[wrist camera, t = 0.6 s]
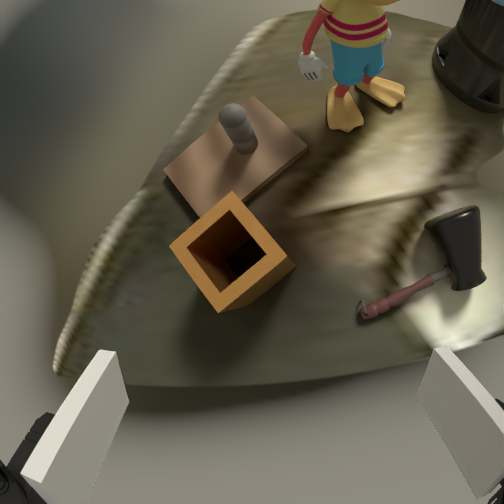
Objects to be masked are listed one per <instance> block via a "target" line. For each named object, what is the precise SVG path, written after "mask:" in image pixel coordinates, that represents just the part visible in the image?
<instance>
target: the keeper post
mask: <svg viewBox="0 0 504 504" xmlns="http://www.w3.org/2000/svg"><path fill="white" fill-rule="evenodd" d="M307 151H308V145H307V144H306V143H305V142H304V141H303V140H301V139H300V138H299V137H298V136H297V135H296V134H295V133H294V132H293V131H292V130H291V129H290V128H289V127H288V126H287V125H286V124H284V123H283V122H282V121H281V120H280V119H279V118H278V117H277V116H276V115H274V114H273V113H272V112H271V111H270V110H269V109H268V108H267V107H265V106H264V105H263V104H262V103H261V102H260V101H259V100H257V99H256V98H255V97H254V96H252V97H250V98H249V99H248V100H246V101H245V102H244V103H242V104H241V105H238V104H234V103H232V104H227V105H225V106H224V107H223V108H222V109H221V110H220V113H219V122H218V123H217V124H215V125H214V126H213V127H212V128H211V129H209V130H208V131H207V132H206V133H204V134H203V135H202V136H201V137H200V138H198V139H197V140H196V141H195V142H194V143H193V144H191V145H190V146H189V147H188V148H187V149H186V150H184V151H183V152H182V153H181V154H180V155H179V156H178V157H176V158H175V159H174V160H173V161H172V162H171V163H170V164H169V165H168V166H166V167H165V168H164V169H163V170H164V171H165V173H166V174H167V175H168V177H169V178H170V179H171V181H172V182H173V183H174V185H175V186H176V187H177V189H178V190H179V191H180V192H181V194H182V195H183V196H184V198H185V199H186V200H187V202H188V203H189V204H190V205H191V207H192V208H193V209H194V211H195V212H196V213H197V215H198V216H199V217H200V218H201V217H202V216H203V215H204V214H205V213H207V212H208V211H209V210H210V209H211V208H212V207H213V206H215V205H216V204H217V203H218V202H219V201H220V200H222V199H223V198H224V197H225V196H226V195H227V194H229V193H230V192H231V191H233V192H234V193H235V194H236V196H237V197H238V198H239V199H240V200H241V201H242V203H243V204H244V203H245V202H246V201H248V200H249V199H250V198H251V197H252V196H253V195H255V194H256V193H257V192H258V191H259V190H261V189H262V188H263V187H264V186H265V185H267V184H268V183H269V182H270V181H271V180H273V179H274V178H275V177H276V176H278V175H279V174H280V173H281V172H282V171H284V170H285V169H286V168H287V167H289V166H290V165H291V164H292V163H293V162H295V161H296V160H297V159H298V158H300V157H301V156H302V155H303V154H305V153H306V152H307Z"/></svg>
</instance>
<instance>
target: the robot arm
mask: <svg viewBox="0 0 504 504" xmlns="http://www.w3.org/2000/svg"><path fill="white" fill-rule="evenodd" d="M433 64H434V67H435V70H436V72H437V74H438V76H439V77H440V79H441V80H442V82H443V83H444V84H445V85H446V86H447V87H448V89H449V90H450V91H451V92H452V93H454V94H455V95H456V96H457V97H458V98H459V99H461V100H462V101H464V102H465V103H467V104H468V105H470V106H472V107H474V108H476V109H478V110H481V111H484V112H491V113H494V112H499V111H501V110H503V109H504V0H466V1H465V4H464V7H463V9H462V12H461V14H460V16H459V19H458V22H457V24H456V26H455V27H454V28H452V29H451V30H450V31H449V32H448V33H447V34H446V35H444V36H443V37H442V38H441V39H440V40H439V41H438V43H437V44H436V47H435V49H434V52H433ZM416 396H417V398H418V399H419V401H420V403H421V404H422V406H423V407H424V409H425V411H426V412H427V414H428V416H429V417H430V419H431V420H432V422H433V424H434V425H435V427H436V429H437V430H438V432H439V434H440V435H441V437H442V439H443V440H444V442H445V444H446V445H447V447H448V449H449V450H450V452H451V454H452V456H453V457H454V459H455V461H456V462H457V464H458V466H459V468H460V470H461V472H462V473H463V475H464V477H465V479H466V480H467V482H468V484H469V486H470V488H471V490H472V492H473V493H474V495H475V497H476V499H479V498H481V497H483V496H485V495H487V494H488V493H490V492H491V491H492V490H493V489H494V488H495V487H496V486H497V485H498V484H499V483H500V484H501V486H502V487H501V488H500V489H499V490H498V491H497V493H496V494H495V495H494V496H493V497H492V498H491V499H490V500H489V502H488V504H490V503H491V502H492V501H494V500H495V499H496V498H497V500H496V501H495V502H494V503H493V504H504V403H503V402H501V401H500V400H498V399H494V398H493V397H492V396H491V395H490V394H489V393H488V391H487V390H486V389H485V388H484V387H483V386H482V384H480V382H479V381H478V380H477V379H476V378H475V377H474V375H473V374H472V373H471V372H470V371H469V370H468V369H467V368H466V367H465V366H464V364H463V363H462V362H461V361H460V360H459V359H458V358H457V357H456V356H455V355H454V353H453V352H452V351H451V350H450V349H449V348H448V347H447V346H445V347H439V348H434V349H433V352H432V355H431V358H430V361H429V364H428V367H427V369H426V372H425V375H424V378H423V380H422V383H421V385H420V388H419V390H418V393H417V395H416ZM128 403H129V400H128V397H127V393H126V390H125V386H124V382H123V379H122V375H121V371H120V367H119V363H118V359H117V354H116V352H113V351H105V350H99V351H98V352H97V354H96V355H95V357H94V358H93V359H92V361H91V362H90V364H89V365H88V367H87V368H86V370H85V371H84V372H83V374H82V375H81V377H80V378H79V380H78V381H77V383H76V384H75V386H74V387H73V389H72V390H71V392H70V393H69V395H68V396H67V398H66V399H65V401H64V402H63V404H62V405H61V407H60V408H59V410H58V412H57V413H56V415H55V414H51V413H48V412H46V413H45V414H44V415H42V416H41V417H40V418H38V419H37V420H36V421H35V423H34V425H33V426H32V427H31V429H30V432H28V433H27V435H26V436H25V440H23V441H22V443H21V444H20V446H19V448H18V449H17V451H16V452H15V454H14V455H13V457H12V458H11V460H10V462H9V463H8V465H7V466H5V465H4V464H3V463H2V461H1V460H0V504H88V501H89V498H90V496H91V493H92V490H93V488H94V485H95V483H96V480H97V477H98V475H99V472H100V470H101V467H102V465H103V462H104V460H105V457H106V455H107V452H108V450H109V448H110V445H111V443H112V440H113V438H114V435H115V433H116V431H117V428H118V426H119V424H120V421H121V419H122V417H123V414H124V412H125V410H126V408H127V405H128Z"/></svg>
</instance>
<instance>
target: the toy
mask: <svg viewBox="0 0 504 504" xmlns="http://www.w3.org/2000/svg"><path fill="white" fill-rule="evenodd" d="M396 1H399V0H322V2H321V4H320V5H319V7H318V10H319V11H318V13H317V14H316V16H315V17H314V19H313V20H312V22H311V24H310V26H309V28H308V30H307V32H306V34H305V38H304V42H303V52H302V53H301V54H300V60H299V69H300V72H301V74H302V75H303V76H304V77H305V78H306V79H307V80H308V81H310V82H313V83H318V82H320V81H321V80H322V79H323V73H322V68H329V65H328V64H327V63H326V62H325V61H324V60H323V59H321V58H317V57H315V54H314V52H312V51H311V46H312V43H313V40H314V37H315V35H316V34H317V32H318V30H319V28H320V26H321V25H322V23H323V22H324V25H325V32H326V34H327V36H328V37H329V38H330V40H331V46H332V53H333V60H334V68H335V69H334V71H333V76H334V78H335V80H336V81H337V82H338V85H337V86H335V87H333V88H331V89H330V90H329V91H328V97H327V120H328V126H329V128H330V129H333V130H334V129H340V130H342V131H345V132H347V133H348V132H350V131H351V130H352V129H353V128H355V127H357V126H361V125H363V124H364V120H363V116H362V114H361V112H360V111H359V109H358V107H357V105H356V104H355V102H354V100H353V99H352V97H351V95H350V94H349V92H348V90H349V87H350V85H356V86H357V87H358V88H359V89H361V90H362V91H364V92H365V93H367V94H368V95H370V96H371V97H373V98H375V99H376V100H378V101H379V102H381V103H383V104H385V105H386V106H388V107H395V105H396V104H397V103H400V102H402V101H404V100H405V97H406V96H405V95H404V93H403V92H404V90H405V88H404V86H403V85H401V84H399V83H396V82H393V81H390V80H386V79H383V78H379V77H375V76H376V75H377V74H379V73H380V72H381V71H382V70H383V68H384V64H385V62H384V59H383V57H382V51H385V50H387V49H388V47H389V46H390V43H391V40H392V34H391V31H390V29H389V28H388V27H389V26H388V22H387V18H386V14H385V11H384V7H383V6H384V5H389V4H392V3H394V2H396Z"/></svg>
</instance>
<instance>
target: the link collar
mask: <svg viewBox="0 0 504 504" xmlns="http://www.w3.org/2000/svg"><path fill="white" fill-rule="evenodd" d="M252 237H253V238H254V239H255V241H256V242H257V243H258V244H259V246H260V247H261V248H262V249H263V250H264V252H265V253H266V254H267V255H265V256H264V257H263V258H262V259H261V260H259V261H258V262H257V263H256V264H255V265H253V266H252V267H251V268H250V269H249V270H247V271H246V272H245V273H244V274H243V275H241V276H240V277H238V276H237V275H236V273H235V272H234V271H233V270H232V268H231V267H230V266H229V264H228V263H227V262H226V261H225V260H226V259H227V258H228V257H229V256H230V255H232V254H233V253H234V252H235V251H236V250H237V249H239V248H240V247H241V246H242V245H243V244H245V243H246V242H247V241H248V240H249V239H250V238H252ZM170 248H171V249H172V251H173V252H174V254H175V255H176V256H177V258H178V259H179V261H180V262H181V263H182V265H183V266H184V268H185V269H186V270H187V272H188V273H189V275H190V276H191V277H192V279H193V280H194V281H195V283H196V284H197V286H198V287H199V288H200V290H201V291H202V292H203V294H204V295H205V296H206V298H207V299H208V300H209V302H210V303H211V304H212V306H213V307H214V308H215V310H216V311H217V312H218V313H221V312H225V311H229V310H234V309H238V308H242V307H246V306H249V305H250V304H251V303H253V302H254V301H255V300H256V299H258V298H259V297H260V296H261V295H262V294H264V293H265V292H266V291H267V290H269V289H270V288H271V287H272V286H273V285H275V284H276V283H277V282H278V281H280V280H281V279H282V278H283V277H284V276H286V275H287V274H288V273H289V272H290V271H292V270H293V269H294V268H295V267H296V265H295V264H294V263H293V262H292V261H291V259H290V258H289V257H288V256H287V255H286V253H285V252H284V251H283V250H282V249H281V247H280V246H279V245H278V244H277V243H276V241H275V240H274V239H273V238H272V237H271V236H270V234H269V233H268V232H267V231H266V230H265V228H264V227H263V226H262V225H261V224H260V223H259V221H258V220H257V219H256V218H255V217H254V215H253V214H252V213H251V212H250V211H249V210H248V208H247V207H246V206H245V205H244V204H243V203H242V201H241V200H240V199H239V198H238V197H237V196H236V194H235V193H234V192H233V191H231V192H230V193H229V194H227V195H226V196H225V197H224V198H223V199H222V200H220V201H219V202H218V203H217V204H216V205H215V206H213V207H212V208H211V209H210V210H209V211H208V212H207V213H205V214H204V215H203V216H202V217H201V218H200V219H199V220H197V221H196V222H195V223H194V224H193V225H192V226H191V227H190V228H188V229H187V230H186V231H185V232H184V233H183V234H182V235H181V236H180V237H178V238H177V239H176V240H175V241H174V242H173V243H172V244H171V245H170Z"/></svg>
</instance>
